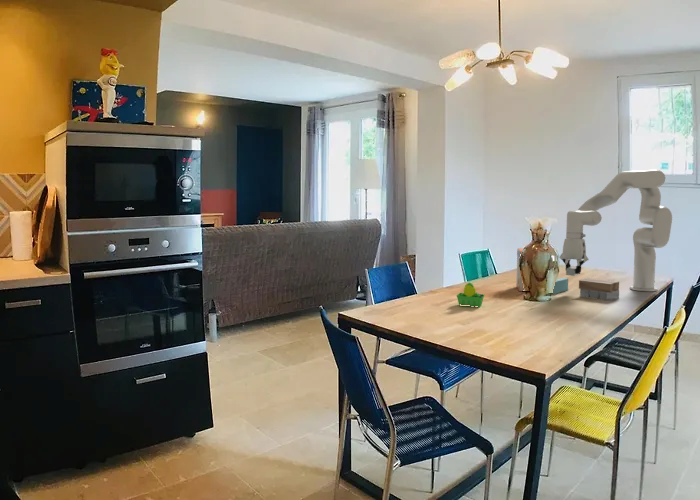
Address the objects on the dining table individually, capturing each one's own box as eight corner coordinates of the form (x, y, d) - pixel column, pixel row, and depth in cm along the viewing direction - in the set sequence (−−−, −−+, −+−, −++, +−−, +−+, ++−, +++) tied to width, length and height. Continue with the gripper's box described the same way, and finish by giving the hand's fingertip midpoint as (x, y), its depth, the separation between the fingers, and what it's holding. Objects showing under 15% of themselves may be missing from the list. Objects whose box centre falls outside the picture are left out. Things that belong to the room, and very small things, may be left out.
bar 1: (571, 273, 273) (572, 266, 272) (580, 273, 270) (580, 267, 270) (566, 275, 267) (566, 268, 266) (574, 275, 264) (574, 268, 264)
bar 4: (611, 297, 260) (611, 289, 260) (618, 298, 257) (619, 290, 257) (598, 299, 256) (599, 291, 256) (606, 300, 253) (606, 292, 252)
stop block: (562, 289, 281) (562, 277, 280) (567, 290, 279) (568, 278, 278) (548, 293, 272) (548, 281, 271) (554, 294, 269) (554, 282, 269)
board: (587, 286, 268) (587, 278, 268) (618, 289, 257) (619, 281, 257) (578, 288, 263) (579, 280, 262) (610, 292, 251) (610, 284, 251)
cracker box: (531, 292, 276) (532, 251, 273) (518, 291, 277) (519, 251, 274) (527, 287, 289) (528, 248, 287) (516, 286, 290) (516, 247, 288)
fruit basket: (484, 305, 247) (485, 280, 246) (480, 309, 239) (481, 284, 238) (460, 303, 252) (460, 279, 251) (455, 307, 244) (455, 282, 243)
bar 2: (587, 294, 269) (587, 286, 268) (595, 295, 266) (595, 287, 265) (580, 297, 262) (580, 288, 262) (588, 298, 259) (588, 289, 259)
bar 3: (598, 295, 265) (598, 287, 264) (606, 296, 262) (607, 288, 261) (589, 298, 259) (590, 290, 258) (598, 299, 256) (598, 291, 255)
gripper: (595, 236, 263) (593, 274, 265) (561, 234, 275) (560, 270, 277) (588, 237, 258) (586, 275, 260) (554, 235, 270) (553, 272, 272)
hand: (573, 272), depth 268 cm, fingers closed on bar 1, 4 cm apart
